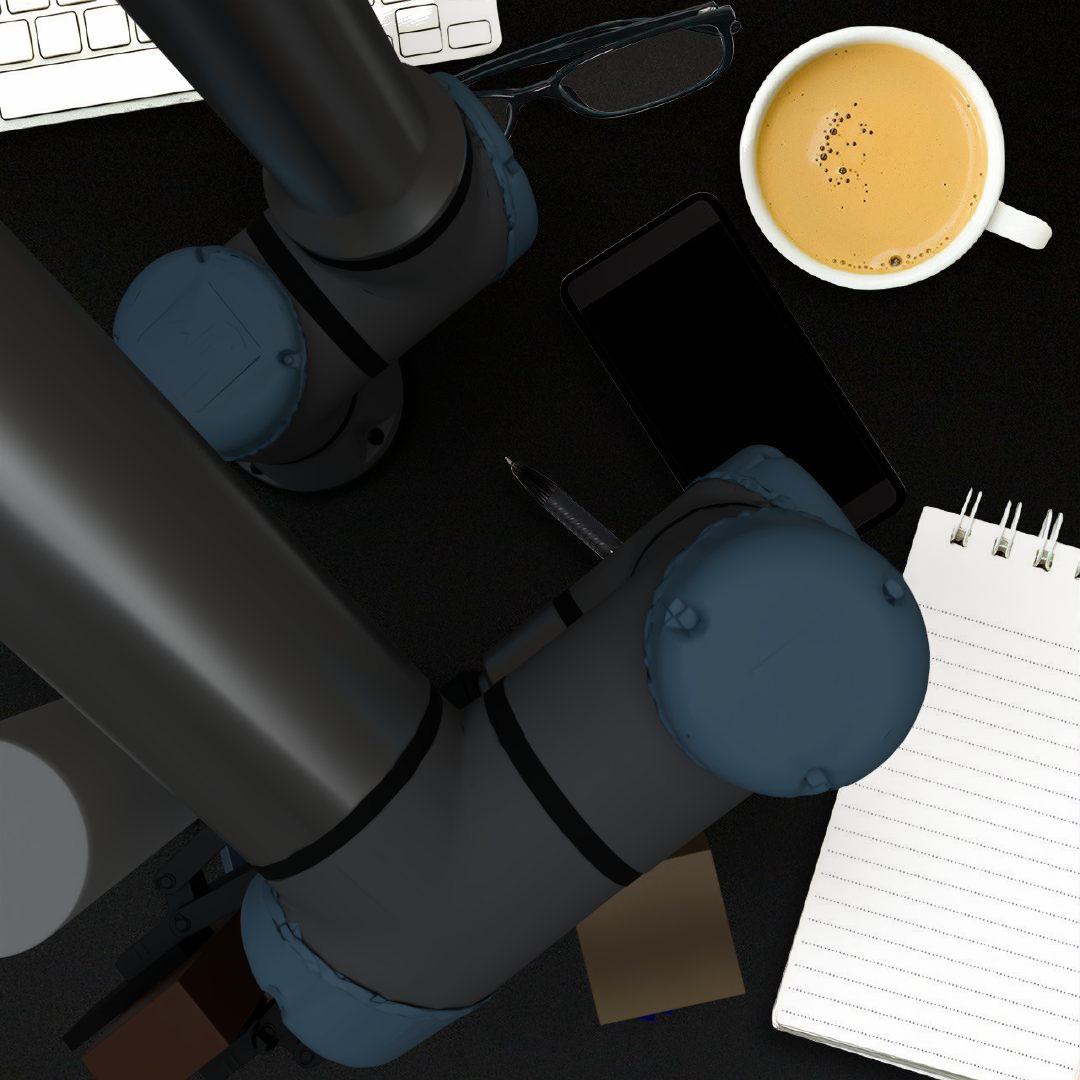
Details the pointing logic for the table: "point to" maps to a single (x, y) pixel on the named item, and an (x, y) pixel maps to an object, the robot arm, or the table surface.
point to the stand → (662, 940)
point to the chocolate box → (182, 1014)
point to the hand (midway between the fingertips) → (112, 1062)
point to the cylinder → (70, 820)
